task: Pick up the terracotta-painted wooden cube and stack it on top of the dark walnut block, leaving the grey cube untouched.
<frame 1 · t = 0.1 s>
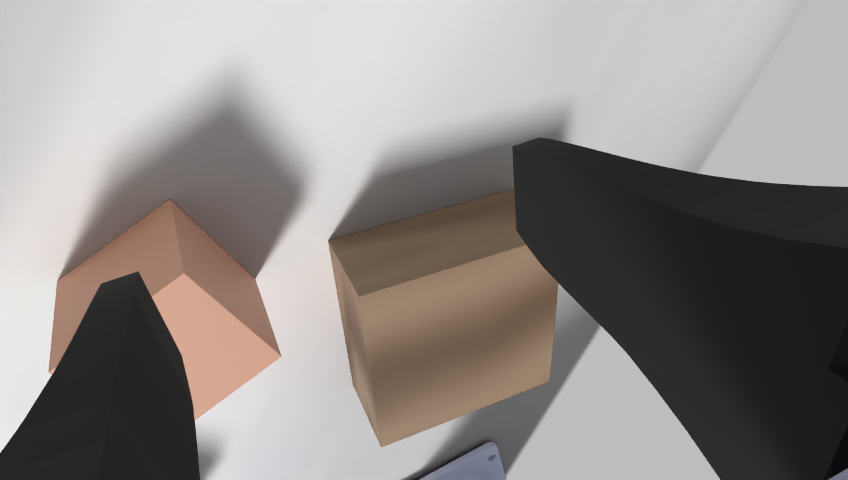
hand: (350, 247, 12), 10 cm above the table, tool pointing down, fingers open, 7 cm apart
terracotta cube: (162, 278, 22), on the table
walnut block: (426, 287, 27), on the table
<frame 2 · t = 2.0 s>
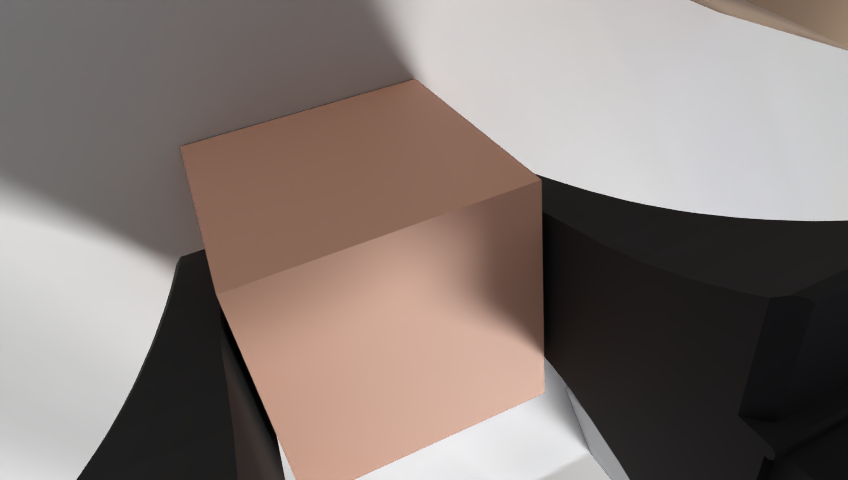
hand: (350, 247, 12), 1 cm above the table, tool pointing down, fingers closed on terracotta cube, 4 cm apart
terracotta cube: (329, 211, 13), on the table, touching gripper
grey cube: (632, 385, 21), on the table
when the fingers open (6 cm above the table, at t = 6.0 s): terracotta cube drops 1 cm, point 4 cm above the table.
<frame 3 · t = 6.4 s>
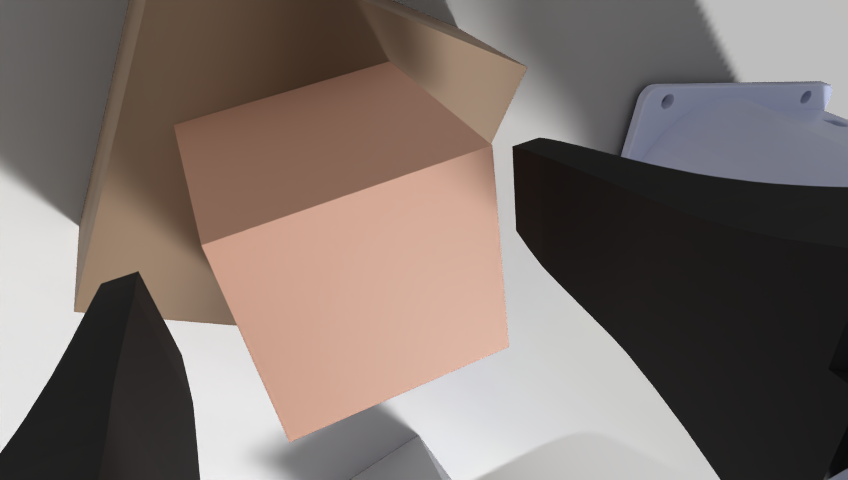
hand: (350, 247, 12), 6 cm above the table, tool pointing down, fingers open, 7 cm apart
terracotta cube: (313, 186, 14), point 4 cm above the table
walnut block: (274, 118, 17), on the table
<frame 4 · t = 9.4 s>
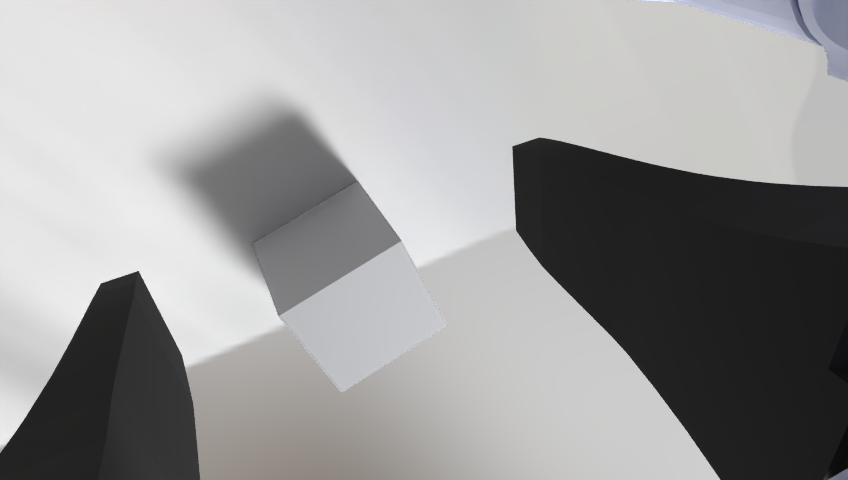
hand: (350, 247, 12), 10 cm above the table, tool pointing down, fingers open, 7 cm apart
grey cube: (331, 251, 24), on the table
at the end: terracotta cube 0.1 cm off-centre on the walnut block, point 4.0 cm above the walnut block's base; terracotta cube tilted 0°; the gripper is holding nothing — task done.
